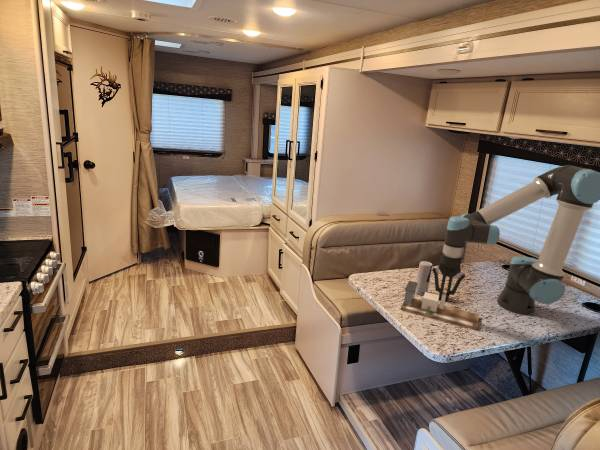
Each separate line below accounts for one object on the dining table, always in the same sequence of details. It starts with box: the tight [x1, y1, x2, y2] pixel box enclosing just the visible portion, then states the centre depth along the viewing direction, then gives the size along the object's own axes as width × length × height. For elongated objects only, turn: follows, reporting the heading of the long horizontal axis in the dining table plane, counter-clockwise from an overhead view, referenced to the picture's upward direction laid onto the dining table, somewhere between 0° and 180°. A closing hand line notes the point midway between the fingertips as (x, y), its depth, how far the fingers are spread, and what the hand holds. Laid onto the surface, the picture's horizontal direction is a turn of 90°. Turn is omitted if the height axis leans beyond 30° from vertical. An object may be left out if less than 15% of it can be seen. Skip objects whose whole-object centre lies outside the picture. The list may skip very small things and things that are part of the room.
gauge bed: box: [400, 297, 480, 331], centre depth 165 cm, size 30×12×2 cm, turn 65°
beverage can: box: [415, 260, 433, 296], centre depth 181 cm, size 6×6×15 cm
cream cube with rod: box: [421, 292, 440, 312], centre depth 165 cm, size 6×10×5 cm, turn 155°
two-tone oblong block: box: [402, 280, 418, 307], centre depth 169 cm, size 4×10×8 cm, turn 155°
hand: (441, 307), depth 164 cm, fingers closed
